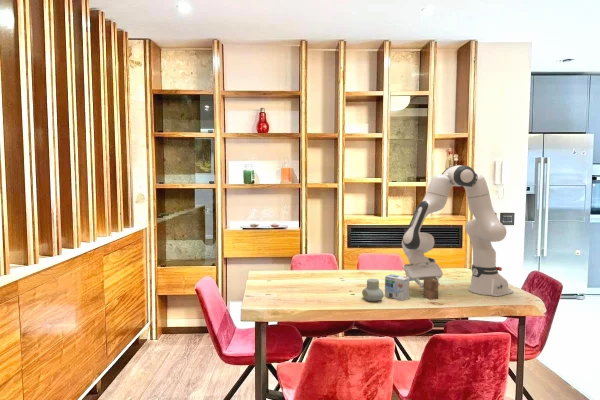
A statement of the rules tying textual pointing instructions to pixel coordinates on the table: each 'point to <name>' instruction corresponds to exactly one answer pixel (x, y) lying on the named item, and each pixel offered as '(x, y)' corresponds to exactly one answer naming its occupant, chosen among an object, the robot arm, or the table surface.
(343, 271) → the table surface
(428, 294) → the walnut block
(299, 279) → the table surface
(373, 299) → the air freshener
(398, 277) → the light bulb box
